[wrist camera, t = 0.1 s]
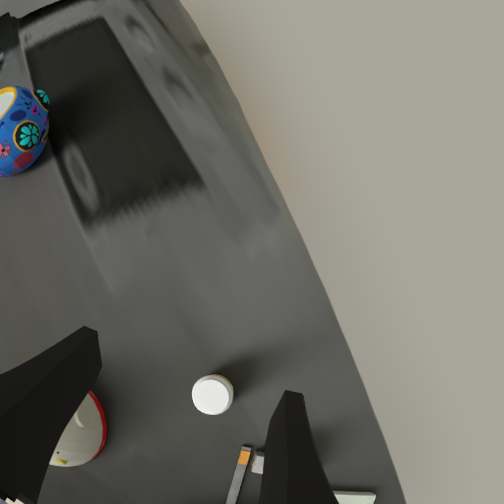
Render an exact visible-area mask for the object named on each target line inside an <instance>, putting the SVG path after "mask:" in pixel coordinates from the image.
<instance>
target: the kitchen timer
mask: <svg viewBox="0 0 504 504" xmlns="http://www.w3.org/2000/svg"><path fill="white" fill-rule="evenodd" d="M106 436H107V423H106V419H105V414H104V411H103V409H102V407H101V405H100V403H99V400H98V399H97V397H96V396H95V395H94V394H93V392H92V391H91V390H90V391H89V392H88V394H87V395H86V397H85V399H84V400H83V402H82V403H81V405H80V406H79V408H78V409H77V411H76V412H75V414H74V415H73V417H72V418H71V420H70V422H69V423H68V425H67V426H66V428H65V430H64V432H63V433H62V435H61V437H60V440H59V442H58V444H57V446H56V448H55V451H54V453H53V455H52V458H51V460H50V463H49V464H51V465H56V466H64V467H67V466H76V465H82V464H84V463H86V462H88V461H90V460H91V459H93V458H95V457H96V456H97V455H98V454H99V453H100V451H101V450H102V449H103V446H104V443H105V441H106Z"/></svg>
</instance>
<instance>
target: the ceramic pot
mask: <svg viewBox="0 0 504 504" xmlns="http://www.w3.org/2000/svg"><path fill="white" fill-rule="evenodd" d="M49 104H50V102H49V98H48V96H47V94H46V93H45V92H44V91H42V90H29V89H27V88H23V87H19V86H10V87H6V88H3V89H1V90H0V176H1V177H8V176H14V175H16V174H18V173H20V172H22V171H24V170H25V169H27V168H28V167H29V166H30V165H31V164H32V163H34V161H35V160H36V159H37V158H38V157H39V155H40V154H41V152H42V150H43V149H44V147H45V145H46V142H47V138H48V133H49V119H48V110H49Z"/></svg>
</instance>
